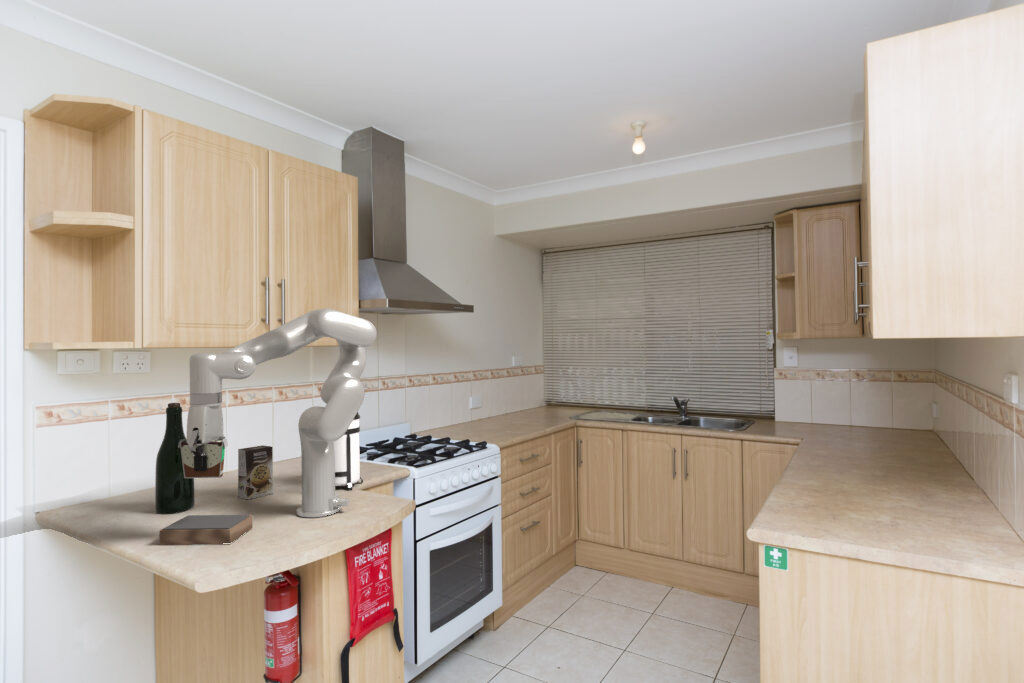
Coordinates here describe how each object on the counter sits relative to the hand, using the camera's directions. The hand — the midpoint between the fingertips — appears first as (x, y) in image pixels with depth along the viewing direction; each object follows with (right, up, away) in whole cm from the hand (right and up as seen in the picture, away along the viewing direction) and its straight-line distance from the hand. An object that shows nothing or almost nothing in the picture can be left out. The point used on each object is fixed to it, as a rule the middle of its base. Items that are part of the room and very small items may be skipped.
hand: (207, 467), depth 148 cm
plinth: (0, -18, 0) cm, 18 cm away
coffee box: (-5, -19, +40) cm, 44 cm away
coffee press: (+21, -18, +49) cm, 56 cm away
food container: (0, -2, +1) cm, 2 cm away
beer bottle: (-24, -19, +25) cm, 39 cm away
